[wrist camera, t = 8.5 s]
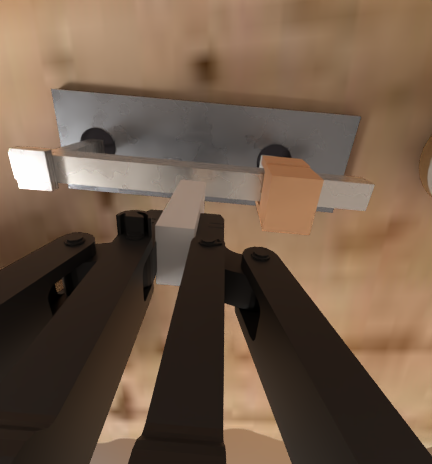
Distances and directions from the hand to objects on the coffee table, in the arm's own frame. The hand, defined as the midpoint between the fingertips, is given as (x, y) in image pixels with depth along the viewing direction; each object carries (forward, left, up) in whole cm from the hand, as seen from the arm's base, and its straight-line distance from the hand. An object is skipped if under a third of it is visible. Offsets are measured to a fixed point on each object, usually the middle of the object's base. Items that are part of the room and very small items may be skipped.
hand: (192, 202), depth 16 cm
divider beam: (-1, 0, -13) cm, 13 cm away
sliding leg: (+6, 0, -13) cm, 14 cm away
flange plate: (-1, 0, -14) cm, 14 cm away
